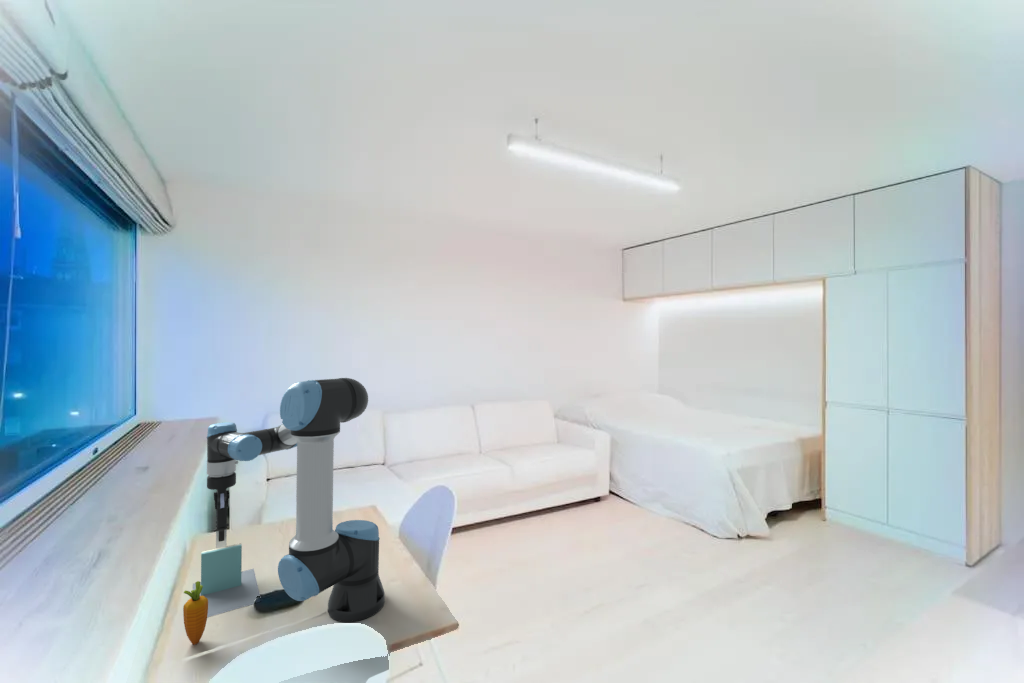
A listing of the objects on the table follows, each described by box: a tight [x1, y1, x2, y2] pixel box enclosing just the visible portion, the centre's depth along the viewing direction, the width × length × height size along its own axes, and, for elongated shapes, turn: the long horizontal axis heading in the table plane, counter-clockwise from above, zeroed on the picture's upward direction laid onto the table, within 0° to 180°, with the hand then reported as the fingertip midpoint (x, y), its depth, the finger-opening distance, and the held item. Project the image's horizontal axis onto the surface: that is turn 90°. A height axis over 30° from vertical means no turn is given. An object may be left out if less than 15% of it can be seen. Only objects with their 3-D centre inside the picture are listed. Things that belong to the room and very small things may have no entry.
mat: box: [192, 568, 261, 618], centre depth 130 cm, size 22×16×1 cm
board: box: [200, 542, 243, 596], centre depth 132 cm, size 2×10×12 cm, turn 125°
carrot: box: [182, 580, 208, 646], centre depth 109 cm, size 5×5×15 cm
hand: (221, 549), depth 137 cm, fingers closed
